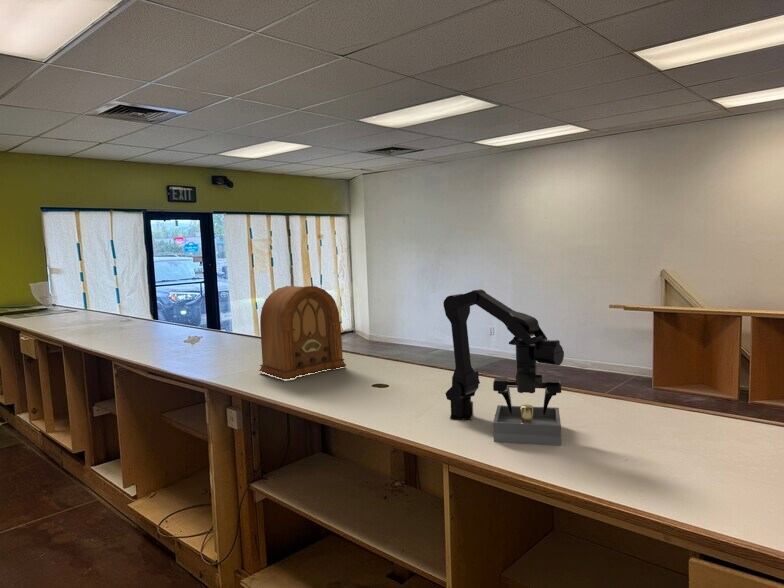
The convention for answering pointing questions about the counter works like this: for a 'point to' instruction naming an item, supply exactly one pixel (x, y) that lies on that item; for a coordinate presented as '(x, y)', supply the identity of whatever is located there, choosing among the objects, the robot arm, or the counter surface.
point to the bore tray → (527, 426)
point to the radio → (300, 332)
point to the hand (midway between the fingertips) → (527, 413)
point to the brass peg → (526, 414)
